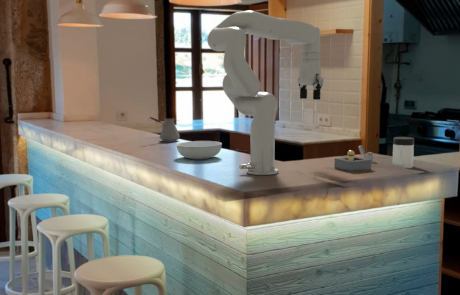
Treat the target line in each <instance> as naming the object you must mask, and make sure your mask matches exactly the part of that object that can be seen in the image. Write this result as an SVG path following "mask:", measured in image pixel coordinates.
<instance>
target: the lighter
mask: <svg viewBox="0 0 460 295" xmlns="http://www.w3.org/2000/svg"><path fill="white" fill-rule="evenodd" d="M358 150H359V153H360V155H361V156H363V158H365V159H370V160H371V164H372V163H375V162H376V155H375V154H373V152H372V151H371V152H370V151H368V152H366V151H365V148H364V145H363V144H362V145H359V146H358Z"/></svg>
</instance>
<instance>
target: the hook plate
mask: <svg viewBox="0 0 460 295" xmlns="http://www.w3.org/2000/svg"><path fill="white" fill-rule="evenodd" d="M326 169H328V170H333V171H338V172H341V173H346V174H354V173H362V172H371V171H376V169H374V168H371V170H366V171H358V172H348V171H343V170H339V169H335V168H334V166H328V167H326Z"/></svg>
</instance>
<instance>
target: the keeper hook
mask: <svg viewBox="0 0 460 295" xmlns="http://www.w3.org/2000/svg"><path fill="white" fill-rule="evenodd" d="M355 154H356V153H355V151H354V150H351V149H349V150H348V151H347V157H348V160H351V161H354V156H355Z"/></svg>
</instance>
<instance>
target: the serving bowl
mask: <svg viewBox="0 0 460 295" xmlns="http://www.w3.org/2000/svg"><path fill="white" fill-rule="evenodd" d="M222 145H223V143H222V142H220V141H216V140H215V141H212V140H194V141H192V140H191V141H184V142H180V143H177V144H176V149H177V153H179V155H180V156H182V157H184V158H187V159H189V160H195V161H196V160H208V159H210V158H213V157H215V156H217V155H218V154H219V153H220V152H221V149H222V147H223V146H222Z"/></svg>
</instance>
